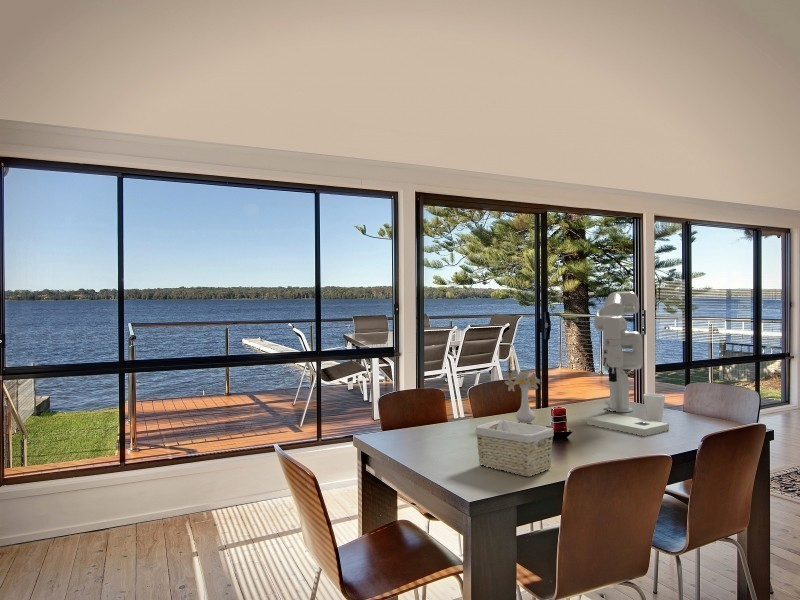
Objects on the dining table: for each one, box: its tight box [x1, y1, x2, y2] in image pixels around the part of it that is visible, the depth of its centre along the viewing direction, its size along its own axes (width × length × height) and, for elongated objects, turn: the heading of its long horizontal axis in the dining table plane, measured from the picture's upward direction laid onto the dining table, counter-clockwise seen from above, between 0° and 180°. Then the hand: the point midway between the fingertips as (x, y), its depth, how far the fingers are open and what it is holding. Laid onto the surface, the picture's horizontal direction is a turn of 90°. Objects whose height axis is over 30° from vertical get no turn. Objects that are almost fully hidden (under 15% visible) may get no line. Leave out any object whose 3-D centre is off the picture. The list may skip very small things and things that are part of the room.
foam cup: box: [643, 392, 666, 423], centre depth 268 cm, size 10×9×13 cm
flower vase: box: [504, 370, 541, 424], centre depth 272 cm, size 13×18×25 cm
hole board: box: [586, 413, 670, 437], centre depth 258 cm, size 30×18×3 cm, turn 33°
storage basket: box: [474, 419, 555, 477], centre depth 200 cm, size 24×16×15 cm
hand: (612, 381), depth 265 cm, fingers closed
